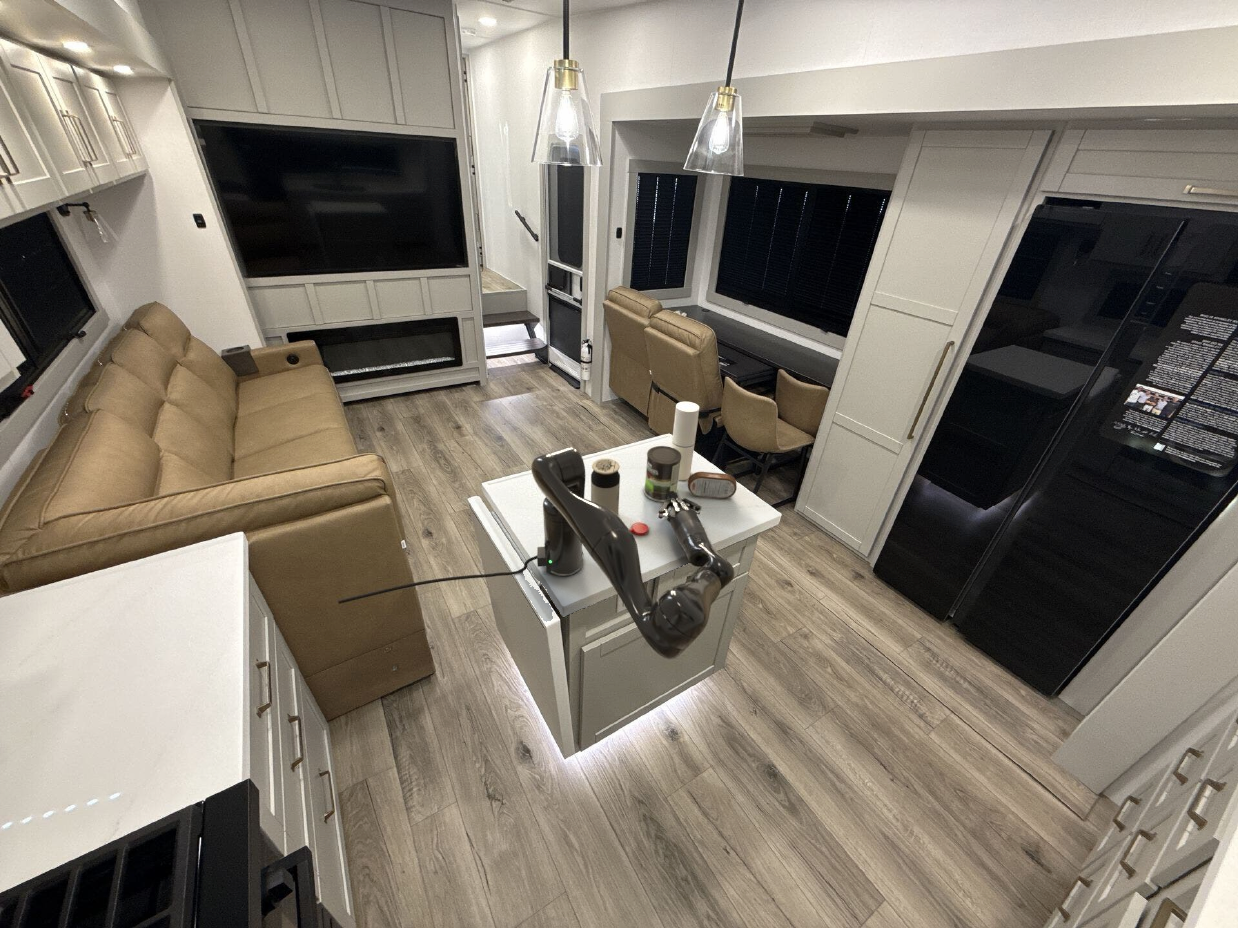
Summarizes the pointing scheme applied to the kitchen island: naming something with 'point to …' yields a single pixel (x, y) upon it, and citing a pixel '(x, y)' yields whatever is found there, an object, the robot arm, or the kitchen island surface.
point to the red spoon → (639, 529)
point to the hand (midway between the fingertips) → (670, 493)
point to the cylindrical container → (685, 435)
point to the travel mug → (606, 484)
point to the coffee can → (661, 472)
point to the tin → (712, 485)
